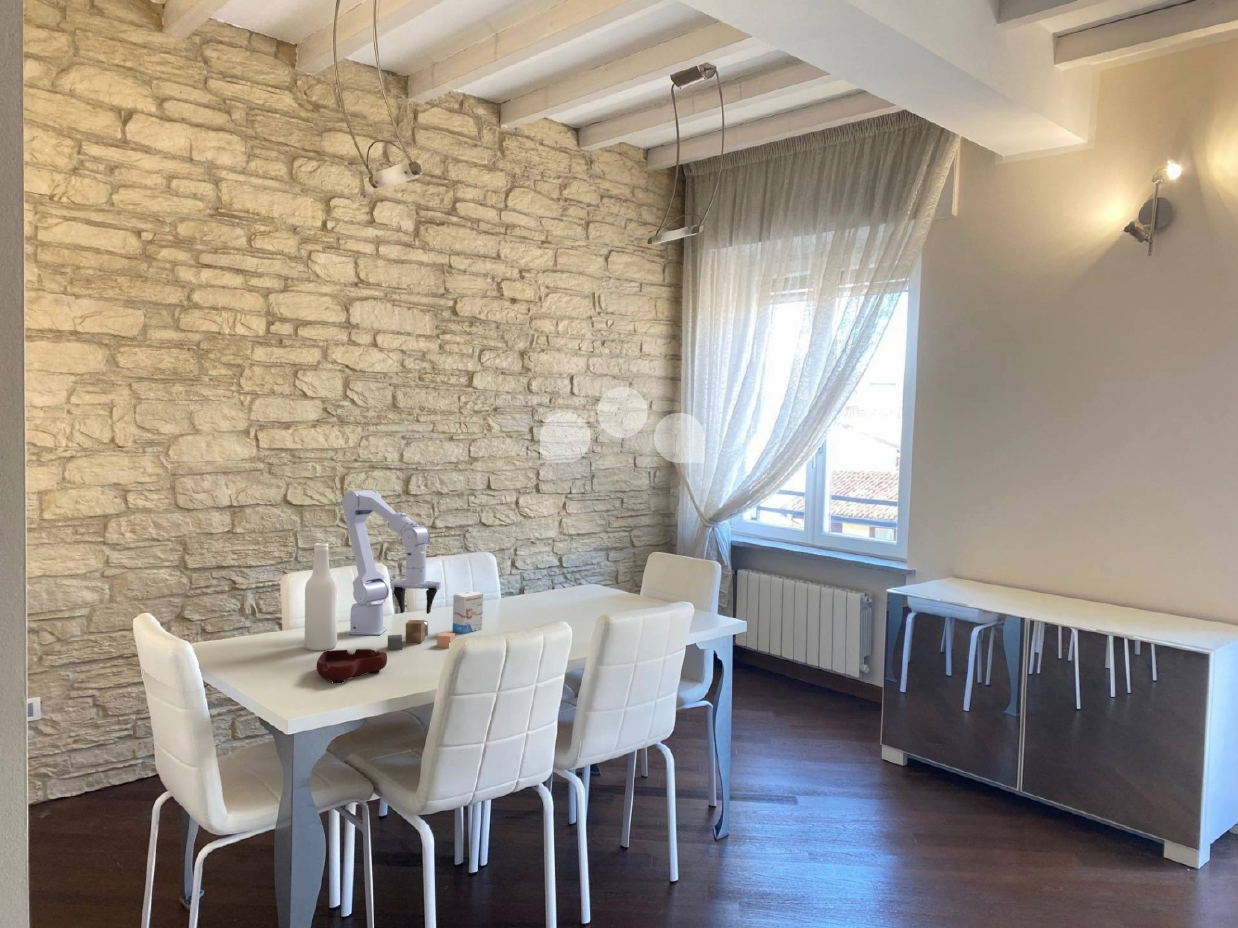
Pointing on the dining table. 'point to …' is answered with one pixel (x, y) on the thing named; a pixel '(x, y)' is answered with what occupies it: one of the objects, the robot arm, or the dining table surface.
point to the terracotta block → (445, 639)
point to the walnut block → (415, 631)
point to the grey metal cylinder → (426, 628)
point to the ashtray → (349, 664)
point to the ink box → (467, 611)
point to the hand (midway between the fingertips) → (415, 612)
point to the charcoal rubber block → (394, 642)
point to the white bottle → (321, 603)
